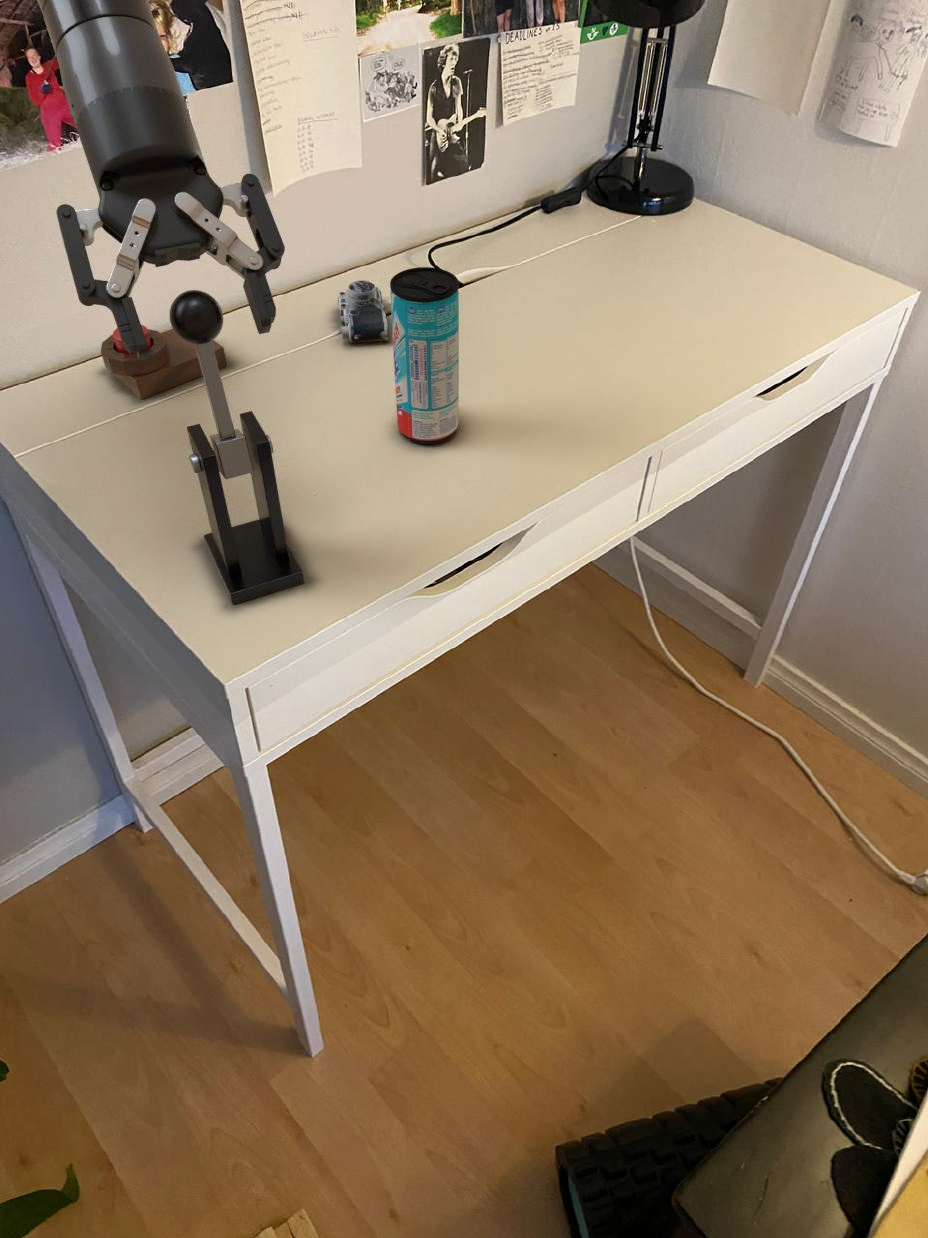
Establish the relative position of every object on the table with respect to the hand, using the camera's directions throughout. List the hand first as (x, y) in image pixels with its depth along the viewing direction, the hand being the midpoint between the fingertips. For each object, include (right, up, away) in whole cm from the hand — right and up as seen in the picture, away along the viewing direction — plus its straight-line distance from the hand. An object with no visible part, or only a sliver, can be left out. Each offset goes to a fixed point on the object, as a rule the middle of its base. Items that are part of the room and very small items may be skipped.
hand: (206, 342), depth 66 cm
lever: (-1, -2, +4) cm, 4 cm away
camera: (+7, +14, +41) cm, 44 cm away
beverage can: (+14, -1, +27) cm, 30 cm away
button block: (-13, +7, +34) cm, 37 cm away
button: (-16, +8, +30) cm, 35 cm away
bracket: (+1, -15, +13) cm, 19 cm away
